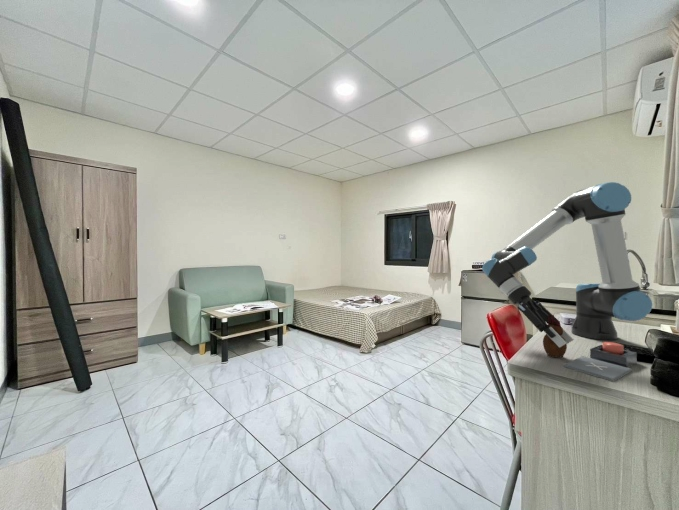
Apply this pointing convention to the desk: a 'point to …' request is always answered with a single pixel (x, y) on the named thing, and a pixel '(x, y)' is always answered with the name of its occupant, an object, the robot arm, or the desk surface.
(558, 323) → the wooden figurine
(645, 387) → the desk surface
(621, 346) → the button
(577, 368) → the slate board
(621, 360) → the button housing
